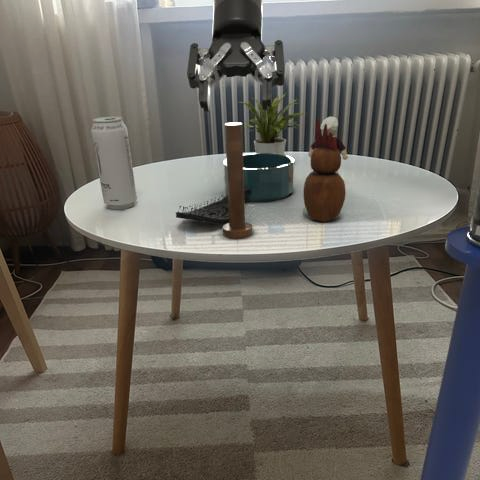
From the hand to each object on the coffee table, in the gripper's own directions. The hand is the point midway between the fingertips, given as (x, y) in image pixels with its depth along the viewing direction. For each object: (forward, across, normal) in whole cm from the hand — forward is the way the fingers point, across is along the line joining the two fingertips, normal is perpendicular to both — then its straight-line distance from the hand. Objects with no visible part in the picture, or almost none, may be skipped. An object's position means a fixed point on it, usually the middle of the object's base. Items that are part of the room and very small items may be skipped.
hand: (235, 107), depth 71 cm
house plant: (-12, +4, +37) cm, 39 cm away
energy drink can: (+5, -23, +20) cm, 31 cm away
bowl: (0, +3, +25) cm, 25 cm away
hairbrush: (+8, -2, +17) cm, 19 cm away
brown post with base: (+16, 0, +9) cm, 18 cm away
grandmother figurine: (-4, +16, +29) cm, 33 cm away
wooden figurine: (+11, +14, +14) cm, 22 cm away
